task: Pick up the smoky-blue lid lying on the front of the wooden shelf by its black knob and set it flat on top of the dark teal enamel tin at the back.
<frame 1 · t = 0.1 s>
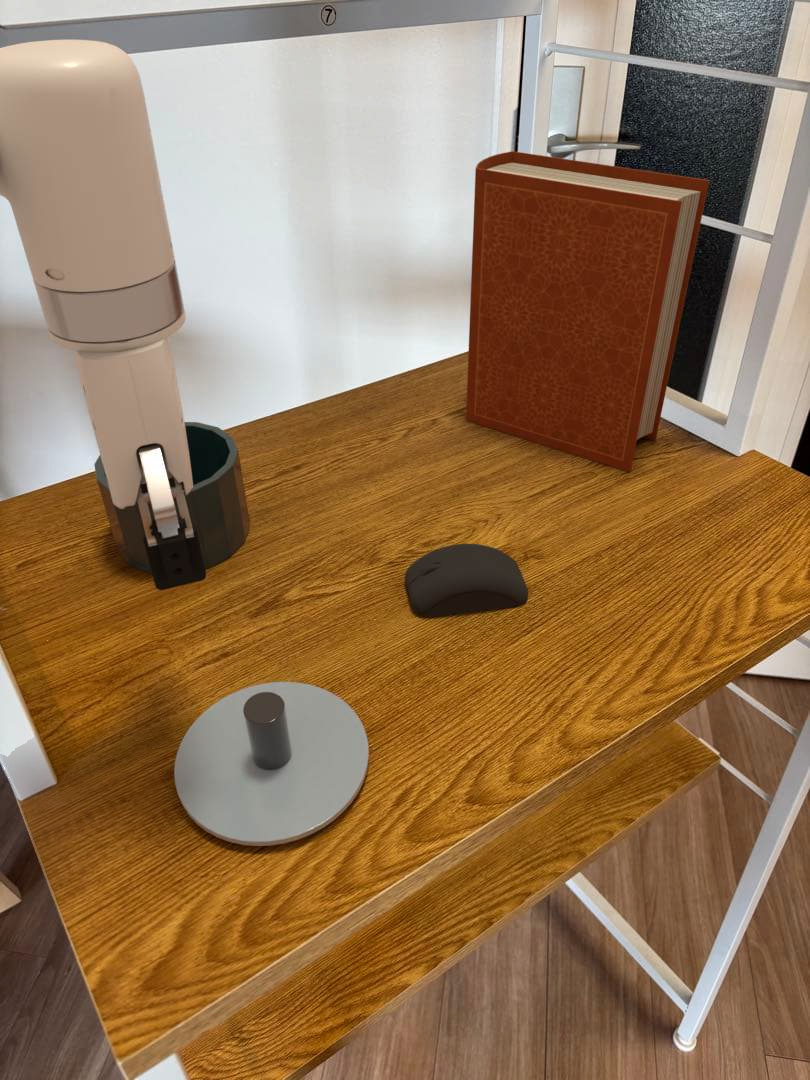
hand: (170, 538, 57), 18 cm above the table, tool pointing down, fingers open, 9 cm apart
book: (554, 430, 103), on the table
tin: (184, 533, 87), on the table
computer mouse: (465, 591, 80), on the table
lid: (273, 759, 64), point 1 cm above the table
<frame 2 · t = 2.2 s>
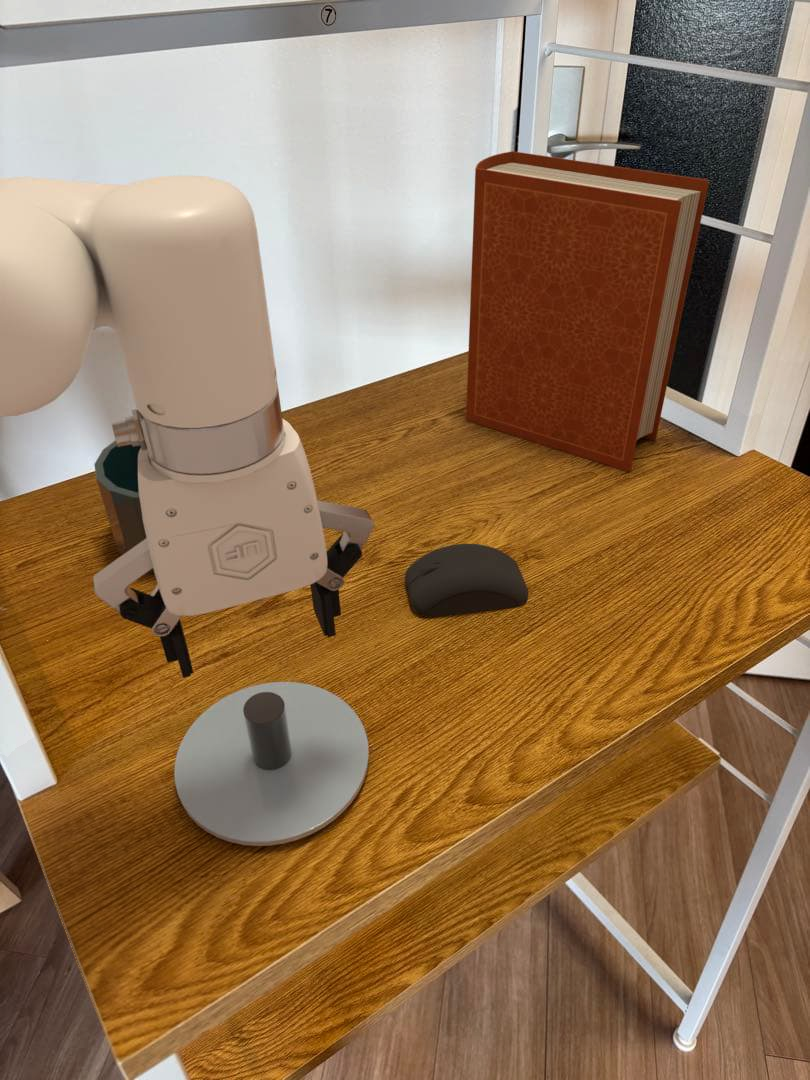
hand: (256, 642, 56), 13 cm above the table, tool pointing down, fingers open, 9 cm apart
nothing on the table moved.
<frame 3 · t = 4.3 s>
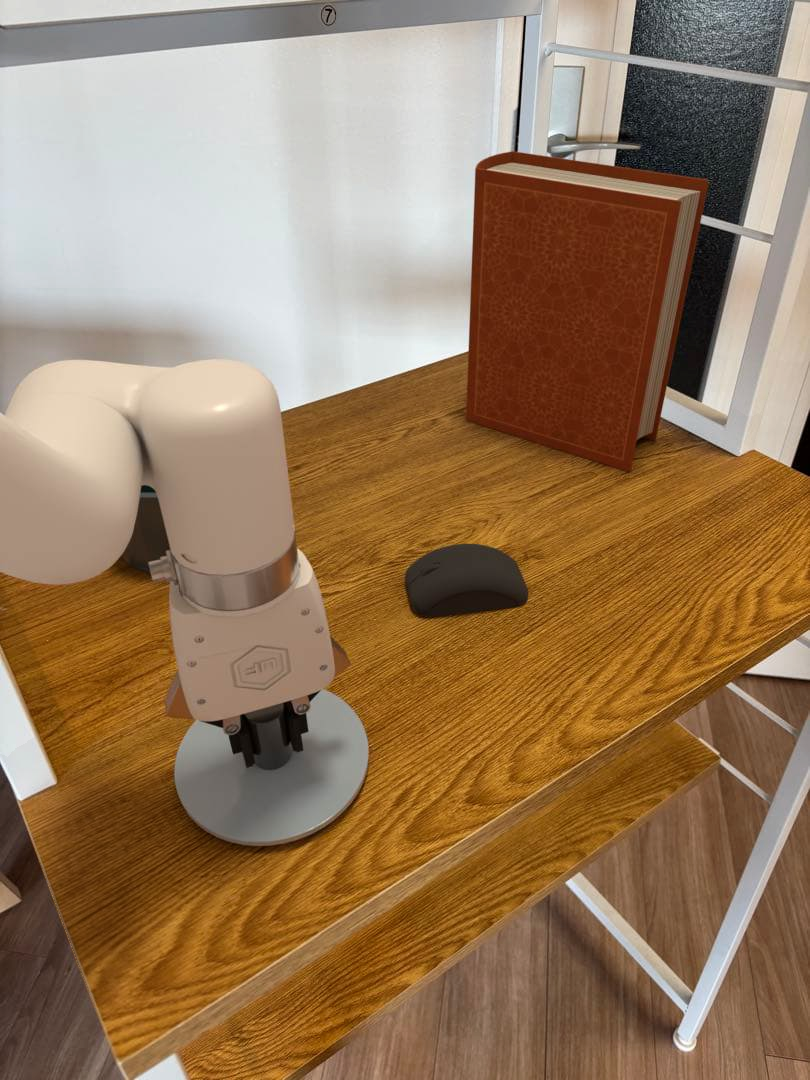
hand: (270, 743, 63), 3 cm above the table, tool pointing down, fingers closed on lid, 3 cm apart
lid: (273, 759, 64), point 1 cm above the table, touching gripper
everything else where it was.
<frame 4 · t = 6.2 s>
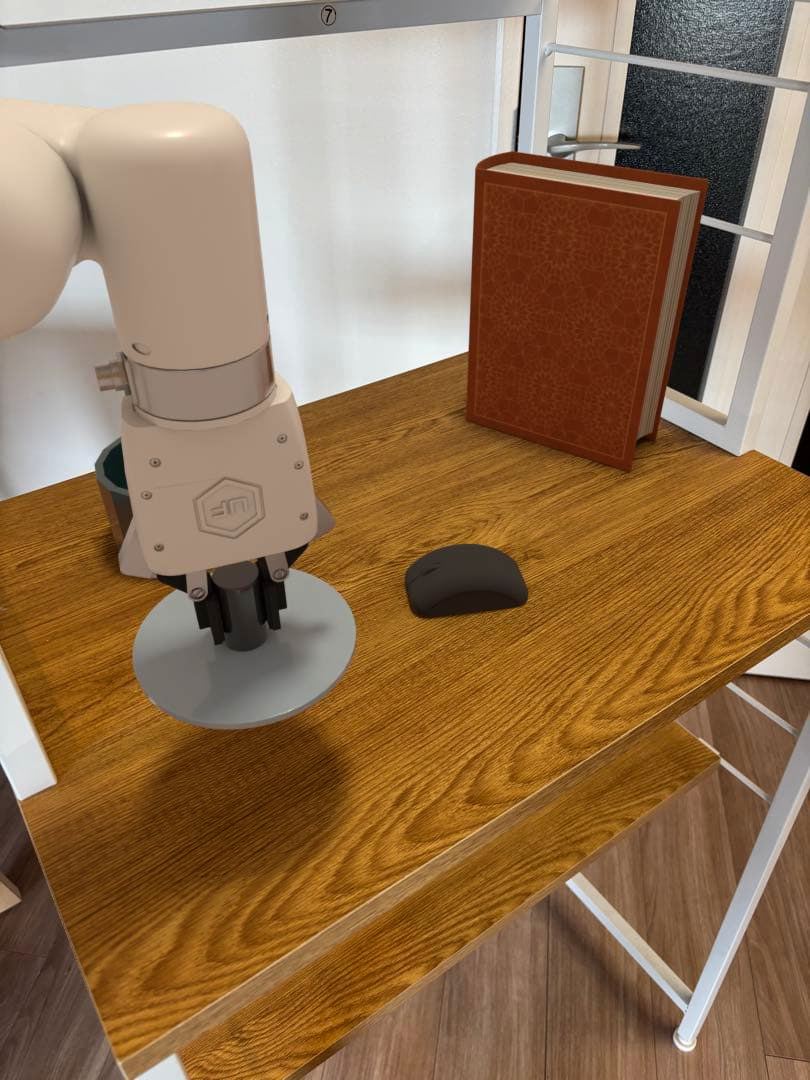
hand: (243, 621, 55), 15 cm above the table, tool pointing down, fingers closed on lid, 3 cm apart
lid: (246, 642, 56), point 13 cm above the table, touching gripper
everything else where it was.
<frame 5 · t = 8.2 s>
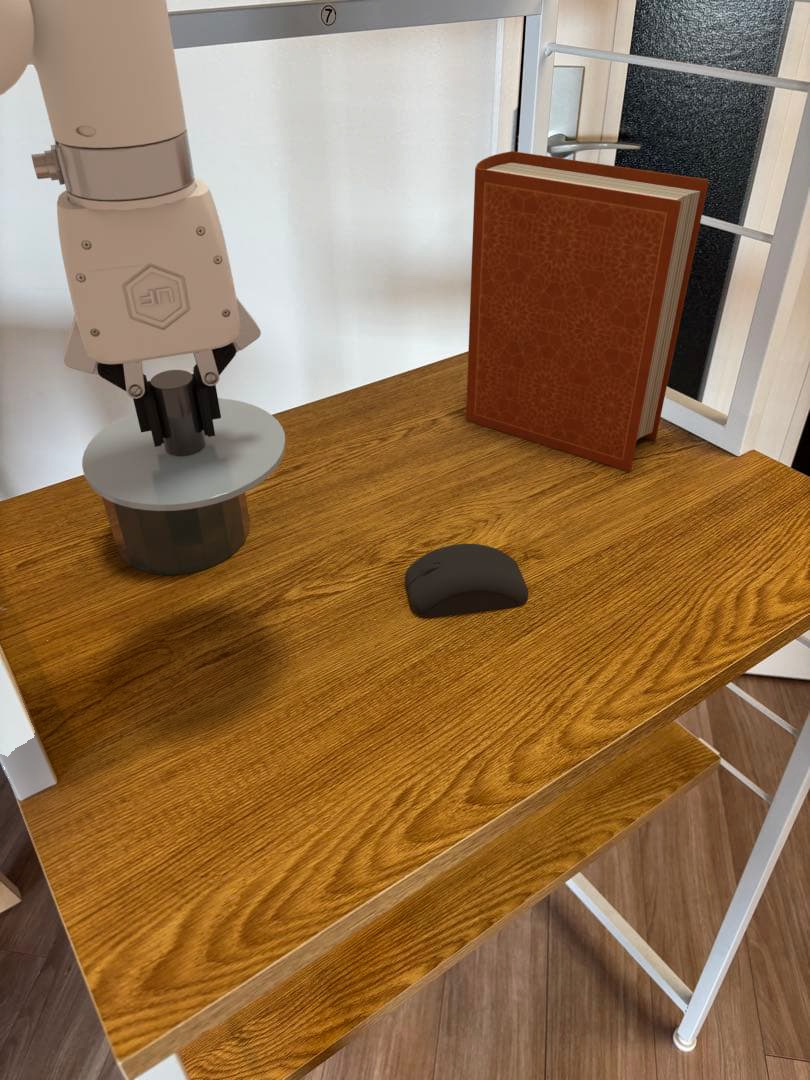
hand: (182, 430, 61), 22 cm above the table, tool pointing down, fingers closed on lid, 3 cm apart
lid: (186, 452, 62), point 20 cm above the table, touching gripper
everything else where it was.
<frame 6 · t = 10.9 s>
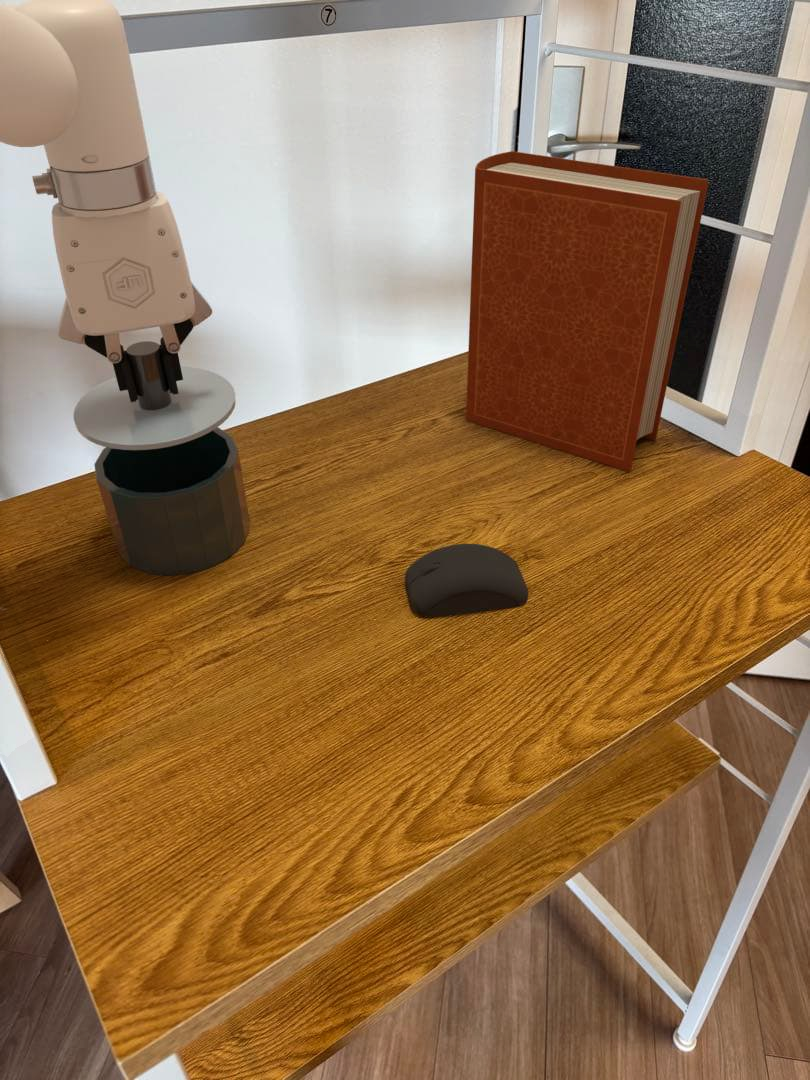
hand: (152, 389, 77), 17 cm above the table, tool pointing down, fingers closed on lid, 3 cm apart
lid: (156, 408, 78), point 15 cm above the table, touching gripper
everything else where it was.
when the fingers open (11 cm above the table, at t = 12.4 s): lid stays where it is, resting on tin.
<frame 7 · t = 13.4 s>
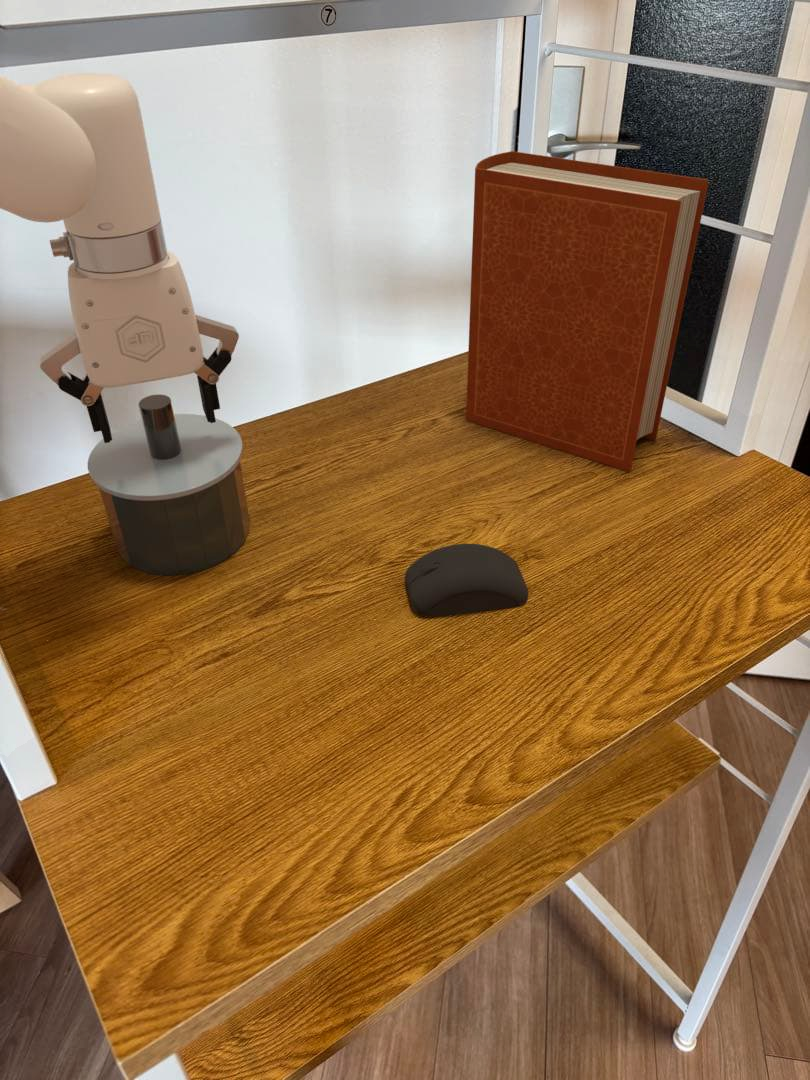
hand: (159, 425, 79), 13 cm above the table, tool pointing down, fingers open, 9 cm apart
lid: (167, 456, 81), point 9 cm above the table, touching tin
everything else where it was.
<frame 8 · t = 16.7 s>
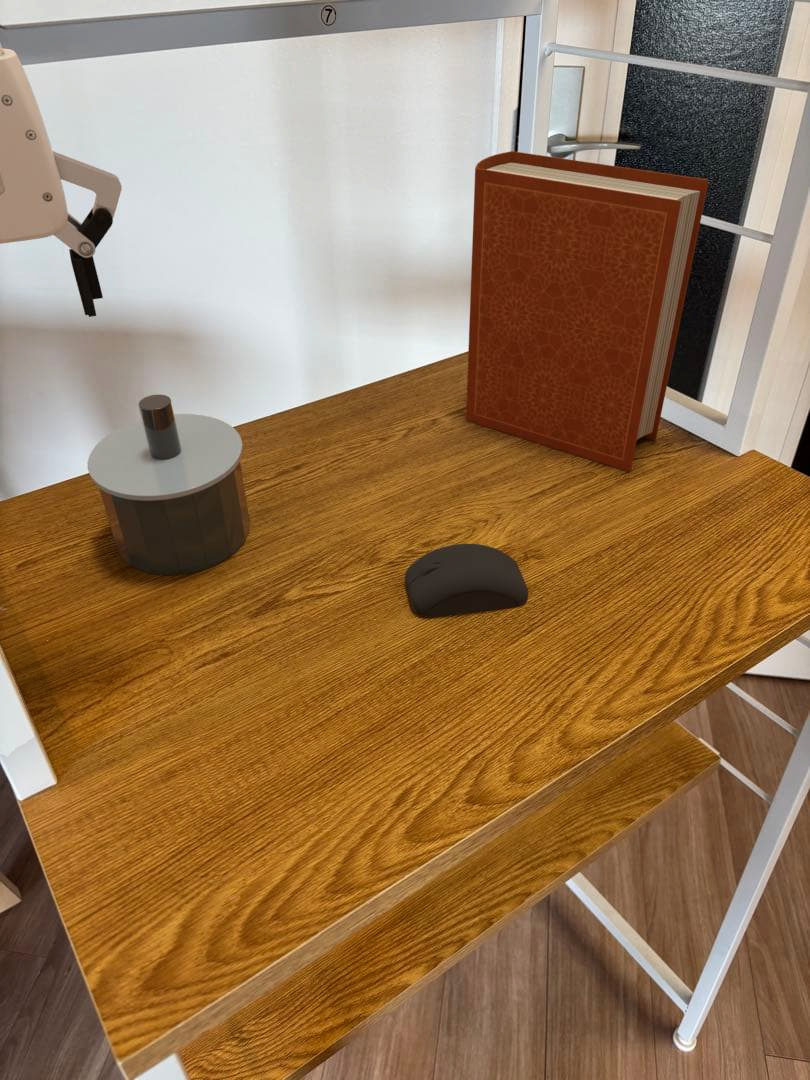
hand: (17, 320, 57), 30 cm above the table, tool pointing down, fingers open, 9 cm apart
nothing on the table moved.
at the end: lid 0.0 cm off-centre on the tin, point 9.5 cm above the tin's base; lid tilted 0° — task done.
